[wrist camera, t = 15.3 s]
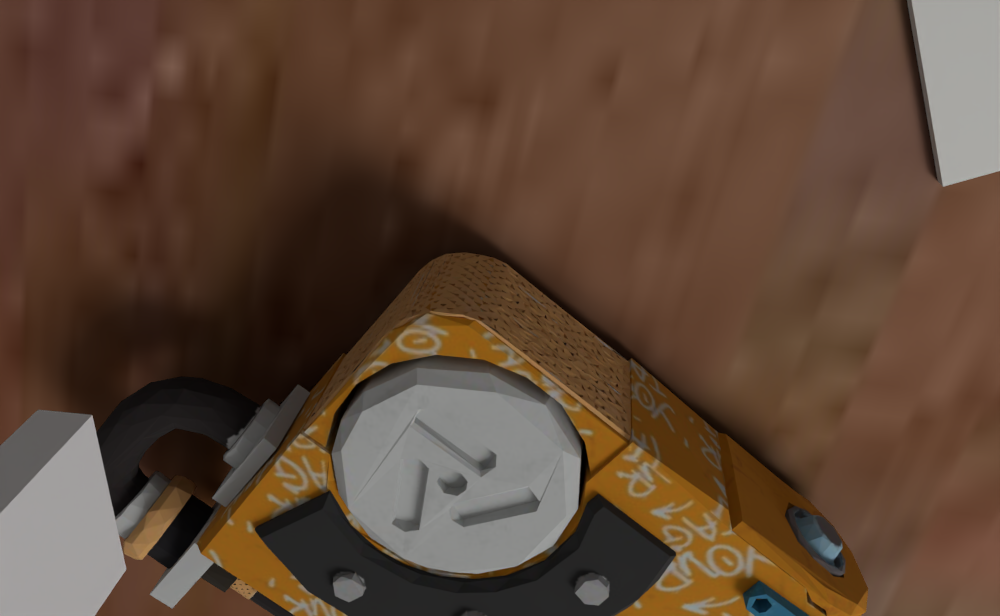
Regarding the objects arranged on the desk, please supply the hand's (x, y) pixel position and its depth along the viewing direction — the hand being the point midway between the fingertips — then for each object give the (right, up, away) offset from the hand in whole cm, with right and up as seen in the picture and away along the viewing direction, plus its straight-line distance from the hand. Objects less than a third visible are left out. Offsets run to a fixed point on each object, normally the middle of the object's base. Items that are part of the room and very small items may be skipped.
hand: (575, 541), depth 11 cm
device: (-2, -5, +31) cm, 31 cm away
